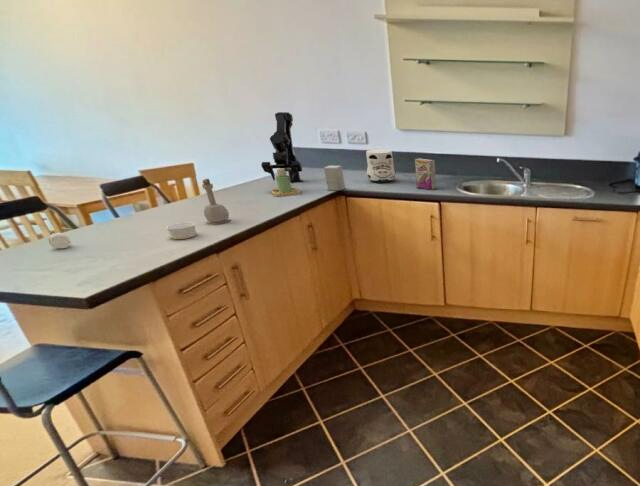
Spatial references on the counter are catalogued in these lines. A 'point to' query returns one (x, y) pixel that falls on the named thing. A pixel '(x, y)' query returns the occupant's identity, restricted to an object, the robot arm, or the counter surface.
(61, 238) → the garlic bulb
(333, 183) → the white packaging box
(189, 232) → the ramekin
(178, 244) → the counter surface
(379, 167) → the cream face block
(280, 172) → the cap
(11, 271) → the counter surface
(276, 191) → the tray
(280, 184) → the bottle
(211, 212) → the potion bottle
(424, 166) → the candy bar box
